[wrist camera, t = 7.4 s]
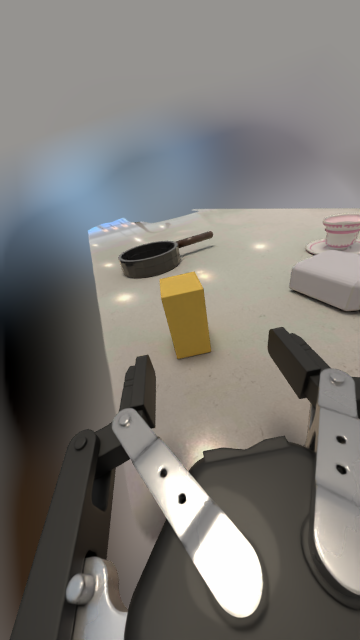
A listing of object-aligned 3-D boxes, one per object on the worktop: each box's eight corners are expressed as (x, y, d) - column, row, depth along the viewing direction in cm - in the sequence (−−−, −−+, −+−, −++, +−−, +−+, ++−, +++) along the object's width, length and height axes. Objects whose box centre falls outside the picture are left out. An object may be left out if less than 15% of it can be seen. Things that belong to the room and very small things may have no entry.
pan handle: (176, 249, 57) (175, 242, 55) (173, 248, 58) (172, 241, 57) (214, 237, 60) (214, 230, 59) (211, 237, 61) (210, 230, 60)
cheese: (211, 352, 25) (203, 288, 20) (177, 359, 25) (160, 297, 20) (202, 328, 29) (194, 271, 24) (173, 335, 29) (159, 278, 24)
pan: (131, 284, 48) (124, 266, 46) (119, 267, 61) (114, 253, 59) (190, 263, 52) (187, 246, 50) (167, 252, 65) (164, 238, 63)
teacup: (376, 258, 37) (390, 222, 33) (301, 257, 43) (307, 227, 39) (370, 239, 44) (381, 208, 41) (308, 240, 51) (312, 214, 47)
